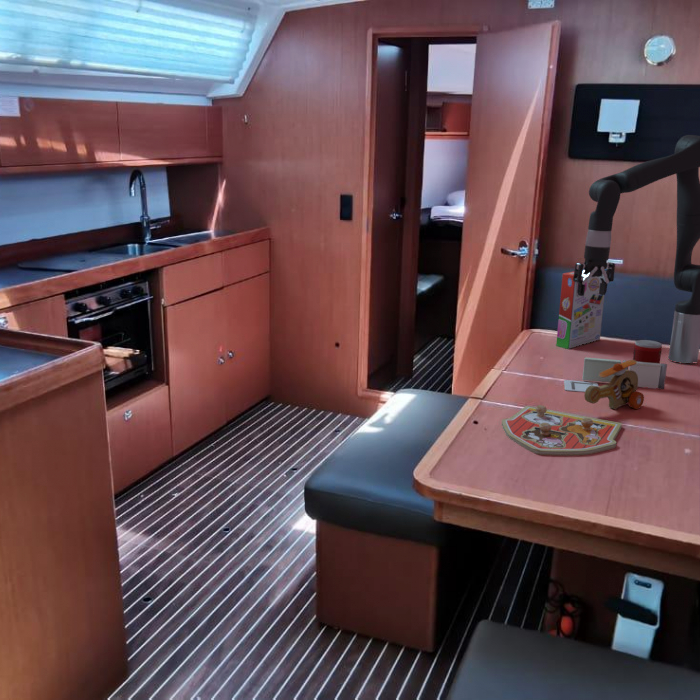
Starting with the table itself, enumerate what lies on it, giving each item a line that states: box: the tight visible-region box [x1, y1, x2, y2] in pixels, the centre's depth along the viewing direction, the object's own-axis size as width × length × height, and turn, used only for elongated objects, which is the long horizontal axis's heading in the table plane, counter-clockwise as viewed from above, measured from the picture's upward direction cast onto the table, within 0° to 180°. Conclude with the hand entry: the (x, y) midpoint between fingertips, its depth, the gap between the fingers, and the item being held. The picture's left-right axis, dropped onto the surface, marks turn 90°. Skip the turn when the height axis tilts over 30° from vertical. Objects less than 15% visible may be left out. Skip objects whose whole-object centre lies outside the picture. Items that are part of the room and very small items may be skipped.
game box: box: [555, 269, 606, 350], centre depth 270 cm, size 21×6×27 cm, turn 130°
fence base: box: [621, 359, 668, 390], centre depth 225 cm, size 2×13×8 cm, turn 76°
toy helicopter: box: [584, 359, 645, 410], centre depth 204 cm, size 8×21×14 cm, turn 123°
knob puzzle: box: [501, 404, 623, 456], centre depth 187 cm, size 29×30×4 cm
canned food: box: [632, 339, 663, 364], centre depth 235 cm, size 8×8×11 cm
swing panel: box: [582, 356, 622, 383], centre depth 227 cm, size 11×2×7 cm, turn 76°
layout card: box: [563, 379, 599, 393], centre depth 224 cm, size 10×10×1 cm
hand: (591, 295), depth 237 cm, fingers open, 8 cm apart
